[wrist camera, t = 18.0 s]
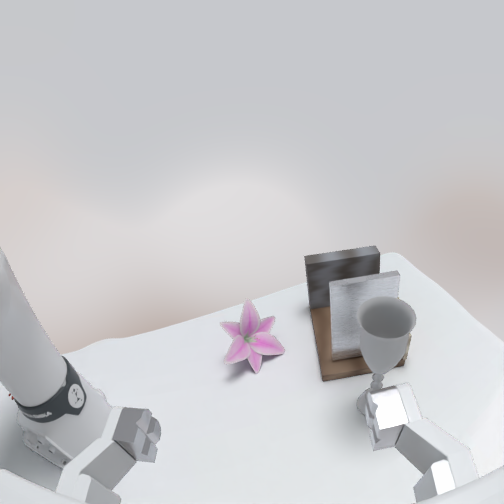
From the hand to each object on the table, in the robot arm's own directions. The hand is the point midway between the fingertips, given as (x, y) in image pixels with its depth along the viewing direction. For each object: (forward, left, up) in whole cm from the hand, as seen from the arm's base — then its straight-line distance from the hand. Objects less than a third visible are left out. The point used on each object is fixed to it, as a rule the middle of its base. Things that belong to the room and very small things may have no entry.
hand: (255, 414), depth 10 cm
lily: (-6, +33, -32) cm, 46 cm away
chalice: (+12, +19, -32) cm, 39 cm away
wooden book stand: (+12, +35, -32) cm, 49 cm away
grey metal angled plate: (+13, +32, -30) cm, 46 cm away
